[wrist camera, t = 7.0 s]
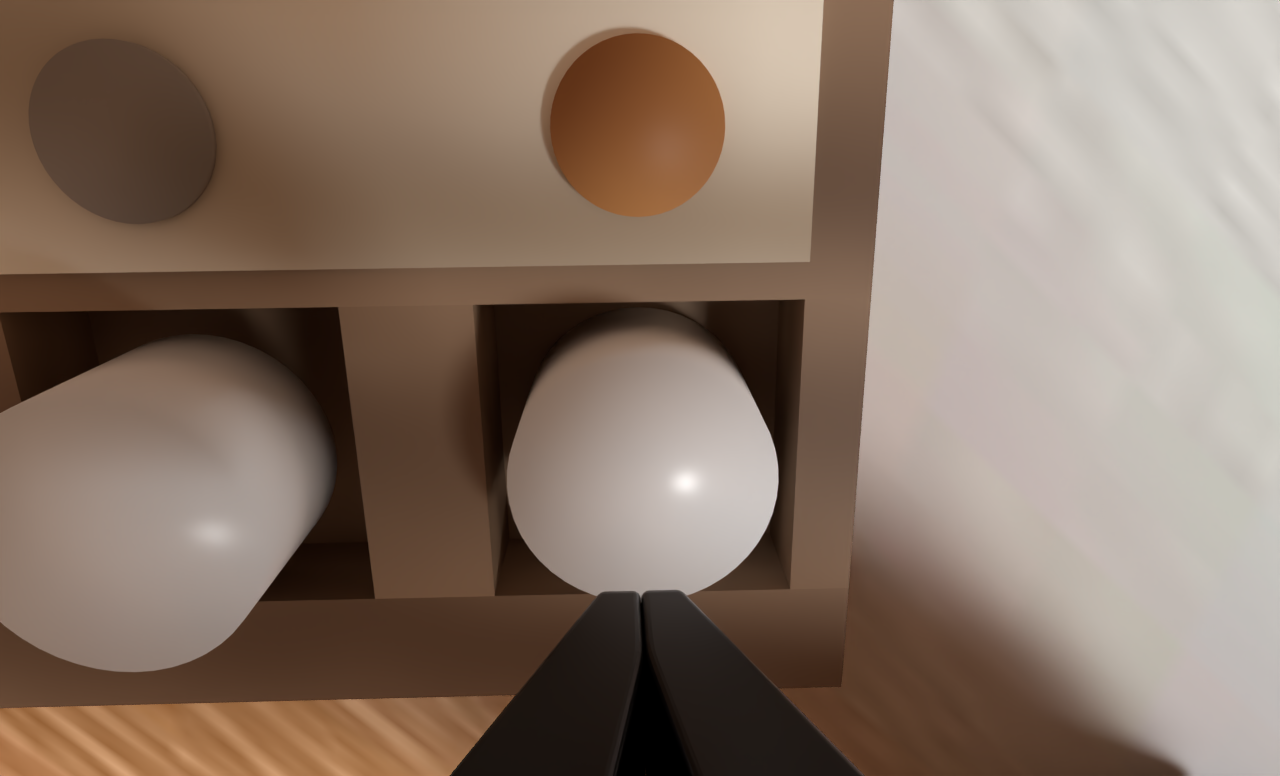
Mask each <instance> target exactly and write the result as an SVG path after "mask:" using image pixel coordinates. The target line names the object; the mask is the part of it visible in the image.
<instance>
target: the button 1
mask: <svg viewBox="0 0 1280 776" xmlns="http://www.w3.org/2000/svg"><path fill="white" fill-rule="evenodd" d="M778 482H779V481H778V462H777V456H776V451H775V447H774V444H773V441H772V438H771V435H770V432H769V430H768V428H767V426H766V424H765V422H764V420H763V418H762V416H761V414H760V411H759V409H758V407H757V405H756V403H755V401H754V399H753V397H752V395H751V393H750V391H749V388H748V386H747V384H746V382H745V380H744V378H743V376H742V374H741V372H740V370H739V368H738V366H737V364H736V362H735V360H734V358H733V357H732V355H731V354H730V353H729V351H728V350H727V348H726V347H725V346H724V345H723V344H722V343H721V342H720V341H719V339H718V338H717V337H715V336H714V335H713V334H712V333H711V332H709V331H708V330H707V329H706V328H704V327H703V326H701V325H699V324H698V323H696V322H695V321H693V320H691V319H688V318H686V317H684V316H682V315H679V314H676V313H673V312H670V311H667V310H661V309H655V308H643V307H634V308H622V309H617V310H612V311H608V312H605V313H602V314H599V315H596V316H593V317H591V318H589V319H588V320H586V321H584V322H582V323H580V324H578V325H577V326H575V327H574V328H572V329H571V330H570V331H568V332H567V333H566V334H565V335H564V336H562V337H561V338H560V339H559V340H558V341H557V342H556V343H555V344H554V346H553V347H552V348H551V349H550V350H549V352H548V353H547V354H546V356H545V358H544V359H543V361H542V362H541V364H540V366H539V368H538V370H537V372H536V375H535V377H534V380H533V383H532V386H531V389H530V392H529V395H528V398H527V401H526V404H525V407H524V410H523V413H522V416H521V419H520V423H519V426H518V429H517V432H516V435H515V438H514V441H513V444H512V448H511V451H510V454H509V461H508V467H507V492H508V499H509V505H510V508H511V512H512V515H513V519H514V521H515V523H516V526H517V528H518V530H519V532H520V534H521V536H522V538H523V539H524V541H525V543H526V544H527V546H528V547H529V549H530V550H531V551H532V552H533V554H534V555H535V556H536V557H537V558H538V560H539V561H540V562H541V563H542V564H544V565H545V566H546V567H547V568H548V569H549V570H550V571H551V572H552V573H554V574H555V575H557V576H558V577H559V578H561V579H562V580H564V581H565V582H567V583H569V584H570V585H572V586H574V587H576V588H578V589H580V590H582V591H585V592H587V593H590V594H592V595H595V596H597V595H598V594H600V593H601V592H604V591H636V592H637V593H639V595H640V597H641V596H642V594H643V593H644V592H646V591H648V590H680V591H682V592H684V593H685V594H686V595H690V594H693V593H695V592H698V591H700V590H702V589H704V588H707V587H709V586H711V585H712V584H714V583H715V582H717V581H719V580H720V579H722V578H724V577H725V576H726V575H728V574H729V573H730V572H731V571H733V570H734V569H735V568H736V567H737V566H738V565H739V564H740V563H741V562H742V561H743V560H744V559H745V558H746V557H747V556H748V555H749V554H750V553H751V551H752V550H753V549H754V548H755V546H756V545H757V544H758V542H759V541H760V539H761V537H762V535H763V534H764V532H765V530H766V528H767V526H768V524H769V521H770V519H771V516H772V514H773V510H774V506H775V503H776V499H777V491H778Z"/></svg>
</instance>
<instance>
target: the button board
mask: <svg viewBox="0 0 1280 776" xmlns="http://www.w3.org/2000/svg"><path fill="white" fill-rule="evenodd" d="M893 2H894V0H0V413H1V412H3V411H5V410H7V409H9V408H11V407H13V406H15V405H17V404H19V403H21V402H23V401H26V400H28V399H30V398H32V397H34V396H36V395H38V394H40V393H42V392H44V391H47V390H49V389H51V388H53V387H55V386H57V385H59V384H61V383H63V382H66V381H68V380H70V379H72V378H74V377H76V376H78V375H80V374H82V373H85V372H87V371H89V370H91V369H93V368H95V367H97V366H99V365H101V364H103V363H106V362H108V361H110V360H112V359H114V358H116V357H118V356H120V355H122V354H125V353H127V352H129V351H131V350H133V349H135V348H137V347H139V346H141V345H144V344H146V343H149V342H152V341H154V340H157V339H160V338H165V337H170V336H174V335H186V334H201V335H212V336H218V337H224V338H228V339H232V340H235V341H238V342H242V343H244V344H247V345H249V346H252V347H254V348H256V349H259V350H260V351H262V352H264V353H266V354H267V355H269V356H271V357H273V358H274V359H276V360H277V361H279V362H280V363H281V364H283V365H284V366H285V367H287V368H288V369H289V370H290V371H291V372H293V373H294V374H295V375H296V376H297V377H298V378H299V379H300V380H301V381H302V382H303V383H304V384H305V386H306V387H307V388H308V389H309V390H310V391H311V393H312V394H313V395H314V397H315V398H316V400H317V401H318V403H319V404H320V406H321V408H322V410H323V412H324V414H325V416H326V418H327V420H328V422H329V425H330V428H331V431H332V433H333V437H334V442H335V446H336V454H337V474H336V481H335V486H334V490H333V494H332V496H331V499H330V501H329V504H328V506H327V508H326V509H325V511H324V513H323V514H322V516H321V518H320V519H319V520H318V522H317V523H316V524H315V526H314V527H313V528H312V530H311V531H310V532H309V534H308V535H307V536H306V538H305V539H304V540H303V542H302V543H301V544H300V546H299V547H298V549H297V550H296V551H295V553H294V554H293V555H292V557H291V558H290V559H289V561H288V562H287V563H286V565H285V566H284V567H283V569H282V570H281V571H280V573H279V574H278V575H277V577H276V578H275V579H274V581H273V582H272V583H271V585H270V586H269V587H268V589H267V590H266V591H265V593H264V594H263V595H262V597H261V598H260V599H259V601H258V602H257V603H256V605H255V606H254V607H253V609H252V610H251V611H250V613H249V614H248V615H247V617H246V618H245V619H244V621H243V622H242V623H241V624H240V625H239V627H238V628H237V629H236V630H235V632H234V633H233V634H232V635H231V636H229V637H228V638H227V639H226V640H225V641H224V642H223V643H222V644H220V645H219V646H217V647H216V648H214V649H213V650H211V651H210V652H208V653H207V654H205V655H203V656H201V657H199V658H197V659H194V660H192V661H190V662H187V663H184V664H181V665H178V666H175V667H171V668H166V669H161V670H156V671H144V672H116V671H109V670H101V669H95V668H91V667H87V666H83V665H79V664H75V663H72V662H70V661H67V660H64V659H61V658H58V657H56V656H54V655H52V654H49V653H47V652H45V651H43V650H41V649H39V648H37V647H35V646H34V645H32V644H30V643H29V642H27V641H25V640H24V639H22V638H20V637H19V636H18V635H16V634H15V633H14V632H12V631H11V630H9V629H8V628H7V627H5V626H4V625H3V624H2V623H1V622H0V708H22V707H61V706H101V705H140V704H179V703H219V702H258V701H297V700H337V699H376V698H416V697H455V696H494V695H516V694H517V693H518V692H519V691H520V689H521V688H522V687H523V686H524V685H525V683H526V682H527V681H528V680H529V678H530V677H531V676H532V675H533V674H534V672H535V671H536V670H537V669H538V667H539V666H540V665H541V664H542V663H543V661H544V660H545V659H546V658H547V656H548V655H549V654H550V653H551V652H552V650H553V649H554V648H555V647H556V645H557V644H558V643H559V642H560V641H561V639H562V638H563V637H564V636H565V634H566V633H567V632H568V631H569V630H570V628H571V627H572V626H573V625H574V623H575V622H576V621H577V620H578V619H579V617H580V616H581V615H582V614H583V612H584V611H585V610H586V609H587V608H588V606H589V605H590V604H591V603H592V601H593V600H594V599H595V598H596V597H597V596H595V595H592V594H590V593H587V592H585V591H582V590H580V589H578V588H576V587H574V586H572V585H570V584H569V583H567V582H565V581H564V580H562V579H561V578H559V577H558V576H557V575H555V574H554V573H552V572H551V571H550V570H549V569H548V568H547V567H546V566H545V565H544V564H542V563H541V562H540V561H539V560H538V558H537V557H536V556H535V555H534V554H533V552H532V551H531V550H530V549H529V547H528V546H527V544H526V543H525V541H524V539H523V538H522V536H521V534H520V532H519V530H518V528H517V526H516V523H515V521H514V519H513V515H512V512H511V508H510V505H509V499H508V492H507V467H508V461H509V454H510V451H511V448H512V444H513V441H514V438H515V435H516V432H517V429H518V426H519V423H520V419H521V416H522V413H523V410H524V407H525V404H526V401H527V398H528V395H529V392H530V389H531V386H532V383H533V380H534V377H535V375H536V372H537V370H538V368H539V366H540V364H541V362H542V361H543V359H544V358H545V356H546V354H547V353H548V352H549V350H550V349H551V348H552V347H553V346H554V344H555V343H556V342H557V341H558V340H559V339H560V338H561V337H562V336H564V335H565V334H566V333H567V332H568V331H570V330H571V329H572V328H574V327H575V326H577V325H578V324H580V323H582V322H584V321H586V320H588V319H589V318H591V317H593V316H596V315H599V314H602V313H605V312H608V311H612V310H617V309H622V308H634V307H643V308H655V309H661V310H667V311H670V312H673V313H676V314H679V315H682V316H684V317H686V318H688V319H691V320H693V321H695V322H696V323H698V324H699V325H701V326H703V327H704V328H706V329H707V330H708V331H709V332H711V333H712V334H713V335H714V336H715V337H717V338H718V339H719V341H720V342H721V343H722V344H723V345H724V346H725V347H726V348H727V350H728V351H729V353H730V354H731V355H732V357H733V358H734V360H735V362H736V364H737V366H738V368H739V370H740V372H741V374H742V376H743V378H744V380H745V382H746V384H747V386H748V388H749V391H750V393H751V395H752V397H753V399H754V401H755V403H756V405H757V407H758V409H759V411H760V414H761V416H762V418H763V420H764V422H765V424H766V426H767V428H768V430H769V432H770V435H771V438H772V441H773V444H774V447H775V451H776V456H777V462H778V481H779V482H778V491H777V499H776V503H775V506H774V510H773V514H772V516H771V519H770V521H769V524H768V526H767V528H766V530H765V532H764V534H763V535H762V537H761V539H760V541H759V542H758V544H757V545H756V546H755V548H754V549H753V550H752V551H751V553H750V554H749V555H748V556H747V557H746V558H745V559H744V560H743V561H742V562H741V563H740V564H739V565H738V566H737V567H736V568H735V569H734V570H733V571H731V572H730V573H729V574H728V575H726V576H725V577H724V578H722V579H720V580H719V581H717V582H715V583H714V584H712V585H711V586H709V587H707V588H704V589H702V590H700V591H698V592H695V593H693V594H690V595H687V596H688V597H689V598H690V599H691V600H692V601H693V602H694V603H695V604H696V605H697V606H698V607H699V608H700V609H701V611H702V612H703V613H704V614H705V615H706V616H707V617H708V618H709V619H710V620H711V621H712V622H713V623H714V624H715V625H716V626H717V627H718V628H719V629H720V630H721V631H722V632H723V633H724V634H725V635H726V636H727V637H728V638H729V639H730V640H731V641H732V642H733V643H734V644H735V645H736V646H737V647H738V648H739V649H740V650H741V651H742V652H743V653H744V654H745V655H746V656H747V657H748V658H749V659H750V660H751V661H752V662H753V663H754V664H755V665H756V666H757V667H758V668H759V669H760V670H761V671H762V672H763V673H764V674H765V675H766V676H767V677H768V678H769V679H770V680H771V681H772V682H773V683H774V684H775V685H776V686H777V687H778V688H809V687H841V683H842V670H843V657H844V644H845V631H846V617H847V604H848V591H849V578H850V565H851V552H852V539H853V526H854V513H855V500H856V486H857V473H858V460H859V447H860V434H861V421H862V408H863V395H864V382H865V369H866V355H867V342H868V329H869V316H870V303H871V290H872V277H873V264H874V251H875V238H876V224H877V211H878V198H879V185H880V172H881V159H882V146H883V133H884V120H885V107H886V93H887V80H888V67H889V54H890V41H891V28H892V15H893Z"/></svg>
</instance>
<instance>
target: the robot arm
mask: <svg viewBox="0 0 1280 776" xmlns="http://www.w3.org/2000/svg"><path fill="white" fill-rule="evenodd" d="M450 776H864V774H863V773H862V772H861V771H860V770H859V769H858V768H857V767H856V766H855V765H854V764H853V763H852V762H851V761H850V760H849V759H848V758H847V757H846V756H845V755H844V754H843V753H842V752H841V751H840V750H839V749H838V748H837V747H836V746H835V745H834V744H833V743H832V742H831V741H830V740H829V739H828V738H827V737H826V736H825V735H824V734H823V733H822V732H821V731H820V730H819V729H818V728H817V727H816V726H815V725H814V724H813V723H812V722H811V721H810V720H809V719H808V718H807V717H806V716H805V715H804V714H803V713H802V712H801V711H800V710H799V709H798V708H797V707H796V706H795V705H794V704H793V703H792V702H791V701H790V700H789V699H788V698H787V697H786V696H785V695H784V693H783V692H782V691H781V690H780V689H779V688H778V687H777V686H776V685H775V684H774V683H773V682H772V681H771V680H770V679H769V678H768V677H767V676H766V675H765V674H764V673H763V672H762V671H761V670H760V669H759V668H758V667H757V666H756V665H755V664H754V663H753V662H752V661H751V660H750V659H749V658H748V657H747V656H746V655H745V654H744V653H743V652H742V651H741V650H740V649H739V648H738V647H737V646H736V645H735V644H734V643H733V642H732V641H731V640H730V639H729V638H728V637H727V636H726V635H725V634H724V633H723V632H722V631H721V630H720V629H719V628H718V627H717V626H716V625H715V624H714V623H713V622H712V621H711V620H710V619H709V618H708V617H707V616H706V615H705V614H704V613H703V612H702V611H701V609H700V608H699V607H698V606H697V605H696V604H695V603H694V602H693V601H692V600H691V599H690V598H689V597H688V596H687V595H686V594H685V593H684V592H682V591H680V590H648V591H646V592H644V593H643V594H642V596H641V597H640V595H639V593H637V592H636V591H604V592H601V593H600V594H598V595H597V597H596V598H595V599H594V600H593V601H592V603H591V604H590V605H589V606H588V608H587V609H586V610H585V611H584V612H583V614H582V615H581V616H580V617H579V619H578V620H577V621H576V622H575V623H574V625H573V626H572V627H571V628H570V630H569V631H568V632H567V633H566V634H565V636H564V637H563V638H562V639H561V641H560V642H559V643H558V644H557V645H556V647H555V648H554V649H553V650H552V652H551V653H550V654H549V655H548V656H547V658H546V659H545V660H544V661H543V663H542V664H541V665H540V666H539V667H538V669H537V670H536V671H535V672H534V674H533V675H532V676H531V677H530V678H529V680H528V681H527V682H526V683H525V685H524V686H523V687H522V688H521V689H520V691H519V692H518V693H517V694H516V696H515V697H514V698H513V699H512V700H511V702H510V703H509V704H508V705H507V707H506V708H505V709H504V710H503V711H502V713H501V714H500V715H499V716H498V717H497V719H496V720H495V721H494V722H493V724H492V725H491V726H490V727H489V728H488V730H487V731H486V732H485V733H484V735H483V736H482V737H481V738H480V739H479V741H478V742H477V743H476V744H475V746H474V747H473V748H472V749H471V750H470V752H469V753H468V754H467V755H466V757H465V758H464V759H463V760H462V761H461V763H460V764H459V765H458V766H457V768H456V769H455V770H454V771H453V772H452V774H451V775H450Z"/></svg>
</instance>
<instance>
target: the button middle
mask: <svg viewBox="0 0 1280 776" xmlns="http://www.w3.org/2000/svg"><path fill="white" fill-rule="evenodd" d="M336 474H337V454H336V446H335V442H334V437H333V433H332V431H331V428H330V425H329V422H328V420H327V418H326V416H325V414H324V412H323V410H322V408H321V406H320V404H319V403H318V401H317V400H316V398H315V397H314V395H313V394H312V393H311V391H310V390H309V389H308V388H307V387H306V386H305V384H304V383H303V382H302V381H301V380H300V379H299V378H298V377H297V376H296V375H295V374H294V373H293V372H291V371H290V370H289V369H288V368H287V367H285V366H284V365H283V364H281V363H280V362H279V361H277V360H276V359H274V358H273V357H271V356H269V355H267V354H266V353H264V352H262V351H260V350H259V349H256V348H254V347H252V346H249V345H247V344H244V343H242V342H238V341H235V340H232V339H228V338H224V337H218V336H212V335H201V334H186V335H174V336H170V337H165V338H160V339H157V340H154V341H152V342H149V343H146V344H144V345H141V346H139V347H137V348H135V349H133V350H131V351H129V352H127V353H125V354H122V355H120V356H118V357H116V358H114V359H112V360H110V361H108V362H106V363H103V364H101V365H99V366H97V367H95V368H93V369H91V370H89V371H87V372H85V373H82V374H80V375H78V376H76V377H74V378H72V379H70V380H68V381H66V382H63V383H61V384H59V385H57V386H55V387H53V388H51V389H49V390H47V391H44V392H42V393H40V394H38V395H36V396H34V397H32V398H30V399H28V400H26V401H23V402H21V403H19V404H17V405H15V406H13V407H11V408H9V409H7V410H5V411H3V412H1V413H0V622H1V623H2V624H3V625H4V626H5V627H7V628H8V629H9V630H11V631H12V632H14V633H15V634H16V635H18V636H19V637H20V638H22V639H24V640H25V641H27V642H29V643H30V644H32V645H34V646H35V647H37V648H39V649H41V650H43V651H45V652H47V653H49V654H52V655H54V656H56V657H58V658H61V659H64V660H67V661H70V662H72V663H75V664H79V665H83V666H87V667H91V668H95V669H101V670H109V671H116V672H144V671H156V670H161V669H166V668H171V667H175V666H178V665H181V664H184V663H187V662H190V661H192V660H194V659H197V658H199V657H201V656H203V655H205V654H207V653H208V652H210V651H211V650H213V649H214V648H216V647H217V646H219V645H220V644H222V643H223V642H224V641H225V640H226V639H227V638H228V637H229V636H231V635H232V634H233V633H234V632H235V630H236V629H237V628H238V627H239V625H240V624H241V623H242V622H243V621H244V619H245V618H246V617H247V615H248V614H249V613H250V611H251V610H252V609H253V607H254V606H255V605H256V603H257V602H258V601H259V599H260V598H261V597H262V595H263V594H264V593H265V591H266V590H267V589H268V587H269V586H270V585H271V583H272V582H273V581H274V579H275V578H276V577H277V575H278V574H279V573H280V571H281V570H282V569H283V567H284V566H285V565H286V563H287V562H288V561H289V559H290V558H291V557H292V555H293V554H294V553H295V551H296V550H297V549H298V547H299V546H300V544H301V543H302V542H303V540H304V539H305V538H306V536H307V535H308V534H309V532H310V531H311V530H312V528H313V527H314V526H315V524H316V523H317V522H318V520H319V519H320V518H321V516H322V514H323V513H324V511H325V509H326V508H327V506H328V504H329V501H330V499H331V496H332V494H333V490H334V486H335V481H336Z"/></svg>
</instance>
